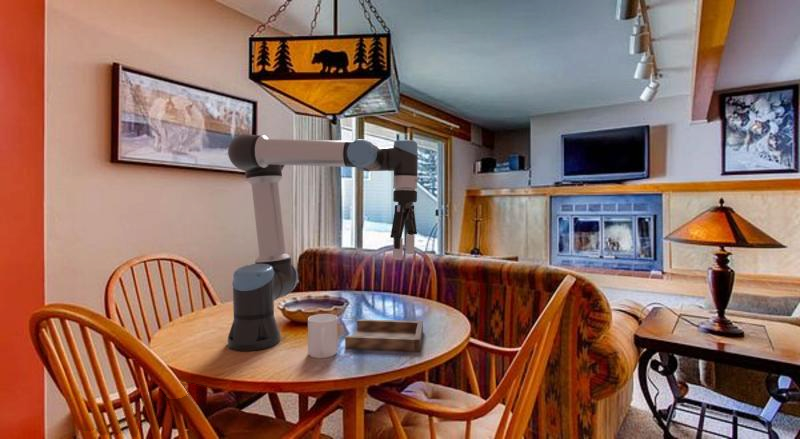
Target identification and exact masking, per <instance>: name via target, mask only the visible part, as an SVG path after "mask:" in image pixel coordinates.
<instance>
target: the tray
mask: <svg viewBox="0 0 800 439" xmlns="http://www.w3.org/2000/svg"><path fill="white" fill-rule="evenodd" d="M423 333H424V321H421V320H394V319H392V320H390V319H389V320H386V319H364V318H363V319H362V318H359V319H357V320H356V330H355V331H354V333H353V335H349V334H348V335H345V337H344V346H345V348H344V349H345V350H361V351H363V350H365V351H384V352H385V351H391V352H409V353H411V352H414V353H420V352H421V347H422V340H423Z"/></svg>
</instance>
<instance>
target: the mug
mask: <svg viewBox="0 0 800 439" xmlns="http://www.w3.org/2000/svg"><path fill="white" fill-rule="evenodd" d="M307 353H308V355H309V356H310V357H312V358H315V359H327V358H330V357H333V356H335V355H336V354H337V353H338V315H335V314H331V313H319V314H314V315H310V316H308V318H307Z"/></svg>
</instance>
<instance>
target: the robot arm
mask: <svg viewBox="0 0 800 439" xmlns="http://www.w3.org/2000/svg"><path fill="white" fill-rule="evenodd" d="M227 156H228V158H229V161H230V162H231V163H232V165H233V166H234V167H235V168H237V169H239V170H241V171H243V172H245V180H246V181H247V182H248V183H249V184H250V185H251V191H252V201H253V210H254V218H255V226H256V227H255V228H256V238H257V248H258V257H256V259H255V261H254V262H255V263H252V264H249V265H248V264H247V265H243V266H241V267H238V268H237V269H236V270H235V271H234V272H233V278H232V292H233V293H232V295H233V298H232V299H233V301H232V302H233V319H232V320H233V321H232V324H231V327H230V330H229V334H228V336H227V347H228V348H229V349H230V350H234V351H239V352H253V351H259V350H265V349H269V348H271V347H274V346H276V345H277V344H278V343H280V341H281V332H280V329H279V325H278V324H277V321H276V318H275V303H274V302H275V301H276V300H278V299H281V298H284V297H285V296H287V295H289V294H290V293H292V291H293V290H295V288H296V286H297V283H298V281H299V274H298V271H297V267H295V266H294V264H292V259H291V258H292V257H291V255H290V254H288V253H287V252H286V245H285V236H284V234H285V232H284V225H283V224H284V223H283V215H282V207H281V205H282V204H281V197H280V189H279V182H280V181H281V180H282V179H283V169H284V167H286V166H306V167H308V166H310V167H343V168H357V170H358V171H360V172H368V173H369V172H386V171H387V172H393V182H392V184H393V186H392V187H393V189H394V190H393V193H392V194H393V196H392V197H393V199H392V201H393V202H394V203H398V204H395V206H394V214H393V219H392V220H393V221H392V224H391V231H390V232H391V233H390V238H392V239H393V240H392V241H393V248H392V250H393V251H392V254H393V255H392V260H400V261H402V260H403V253H404V252H403V251H404V250H403V248H404V246H403V244H404V241H403V239H404V238H403V232H404V228H405V229H406V234H405V254H406V255H415V238H416V237H415V235H418V230H417V223H416V216H415V205H414V204H412V203H417V202H418V192H417V189H418V183H419V181H420V180H419V178H418V164H419V161H418V160H419V152H418V142H416V141H415V140H413V139H396V140H395V141H394V142H393V146H390V147H389V146H385V147H384V146H383V147H381V146H377V145H375V144H373V142H371V141H369V140H367V139H363V138H361V139H360V138H358V139H355V140H326V139H324V140H323V139H287V138H286V139H284V138H283V139H281V138H278V139H277V138H276V139H275V138H269V137H267V136H266V135H264V134H263V135H260V134H259V135H258V134H256V135H255V134H250V133H243V134H239V135H237V136H235V137H234V138H233V139H232V140H231V141H230V142H229V144H228V148H227Z"/></svg>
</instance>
